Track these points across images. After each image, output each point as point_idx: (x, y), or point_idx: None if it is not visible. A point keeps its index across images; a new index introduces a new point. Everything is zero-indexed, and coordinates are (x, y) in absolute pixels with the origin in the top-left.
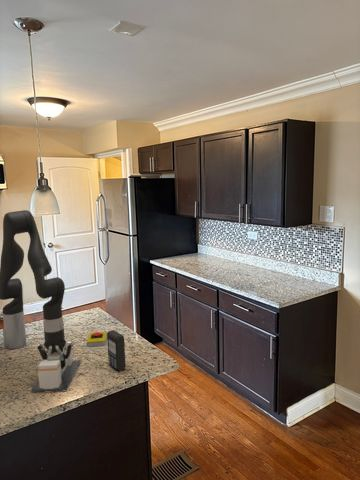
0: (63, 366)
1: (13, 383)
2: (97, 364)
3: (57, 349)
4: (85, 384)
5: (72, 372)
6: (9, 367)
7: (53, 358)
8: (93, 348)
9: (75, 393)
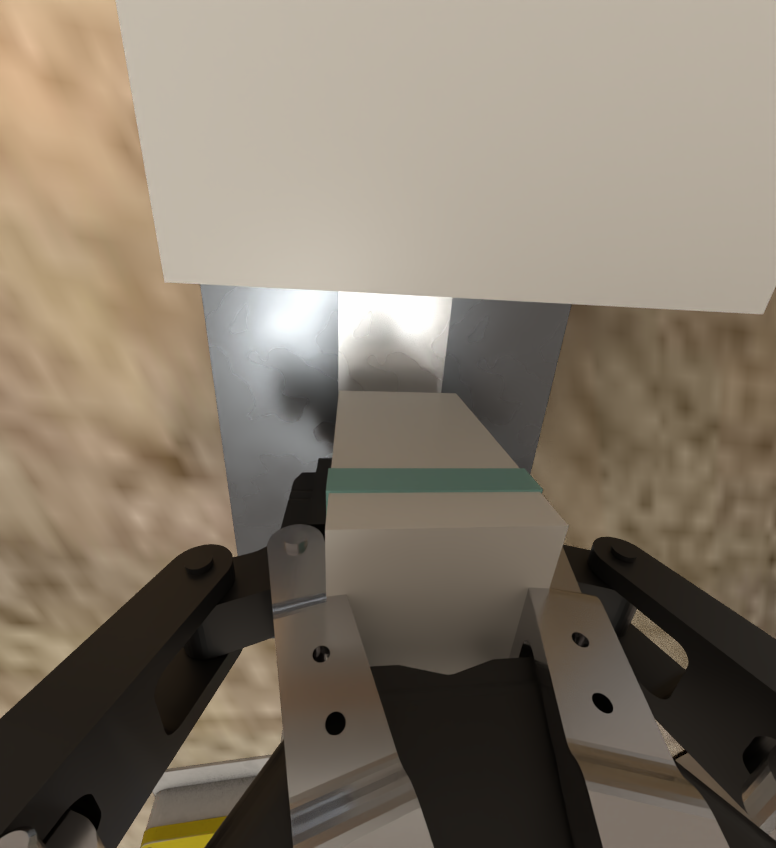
0: (309, 478)
1: (744, 361)
2: (90, 595)
3: (371, 785)
4: (13, 244)
5: (241, 459)
6: (754, 578)
7: (444, 505)
8: (230, 763)
9: (30, 6)
